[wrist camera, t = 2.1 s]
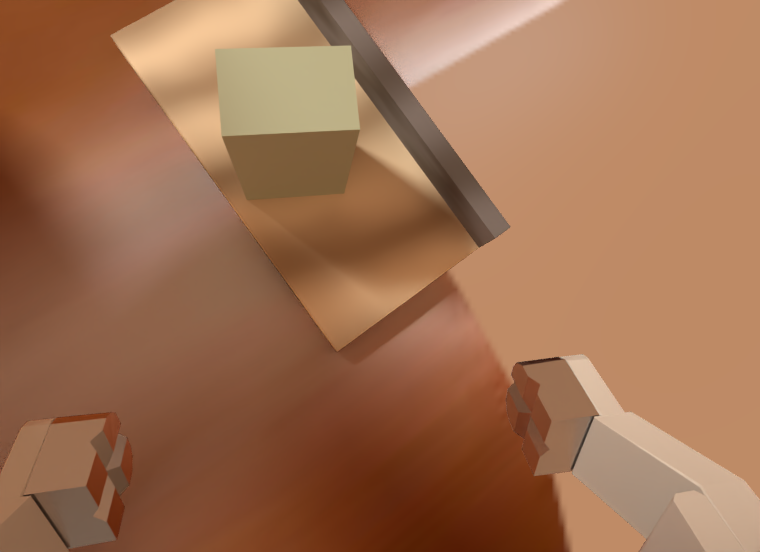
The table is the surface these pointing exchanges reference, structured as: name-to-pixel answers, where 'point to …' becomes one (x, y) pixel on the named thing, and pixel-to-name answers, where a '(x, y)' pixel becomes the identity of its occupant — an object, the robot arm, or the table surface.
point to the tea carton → (288, 118)
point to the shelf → (367, 173)
